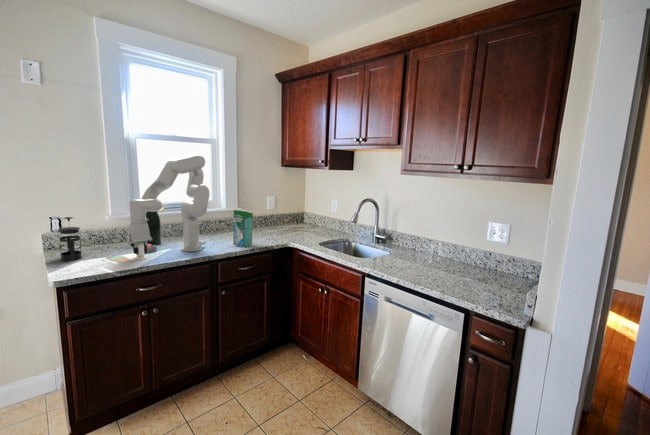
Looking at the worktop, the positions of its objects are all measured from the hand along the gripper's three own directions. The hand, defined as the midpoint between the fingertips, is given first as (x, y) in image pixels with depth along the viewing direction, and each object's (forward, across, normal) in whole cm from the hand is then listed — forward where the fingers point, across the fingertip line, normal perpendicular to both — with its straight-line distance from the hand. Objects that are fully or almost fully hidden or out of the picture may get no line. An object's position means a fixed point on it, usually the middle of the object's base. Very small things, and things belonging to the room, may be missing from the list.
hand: (140, 252), depth 179 cm
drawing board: (+3, +6, -3) cm, 8 cm away
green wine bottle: (+4, -22, -27) cm, 35 cm away
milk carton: (+5, -60, +19) cm, 63 cm away
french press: (+3, +24, -25) cm, 34 cm away
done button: (+1, -8, -8) cm, 12 cm away
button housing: (+3, -8, -8) cm, 12 cm away
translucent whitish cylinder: (+2, 0, 0) cm, 2 cm away
